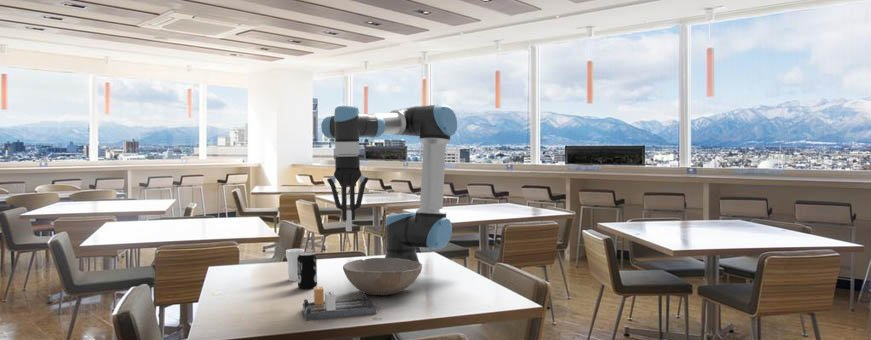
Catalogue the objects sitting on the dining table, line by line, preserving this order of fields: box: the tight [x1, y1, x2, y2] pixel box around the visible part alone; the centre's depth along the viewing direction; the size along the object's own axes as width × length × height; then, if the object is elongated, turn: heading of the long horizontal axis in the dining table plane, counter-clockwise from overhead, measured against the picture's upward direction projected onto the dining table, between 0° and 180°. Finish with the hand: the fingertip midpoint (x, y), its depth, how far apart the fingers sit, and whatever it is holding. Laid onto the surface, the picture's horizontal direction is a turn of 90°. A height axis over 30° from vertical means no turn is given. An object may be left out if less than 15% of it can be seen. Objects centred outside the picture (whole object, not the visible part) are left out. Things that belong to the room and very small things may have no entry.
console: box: [302, 294, 378, 321], centre depth 176 cm, size 20×12×3 cm, turn 107°
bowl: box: [342, 257, 423, 296], centre depth 198 cm, size 26×26×10 cm
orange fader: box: [313, 286, 325, 305], centre depth 178 cm, size 2×4×5 cm
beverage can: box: [297, 251, 318, 290], centre depth 208 cm, size 7×7×12 cm
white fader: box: [324, 291, 336, 311], centre depth 171 cm, size 2×4×5 cm
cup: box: [285, 248, 305, 282], centre depth 222 cm, size 7×7×11 cm
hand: (348, 230), depth 187 cm, fingers closed
